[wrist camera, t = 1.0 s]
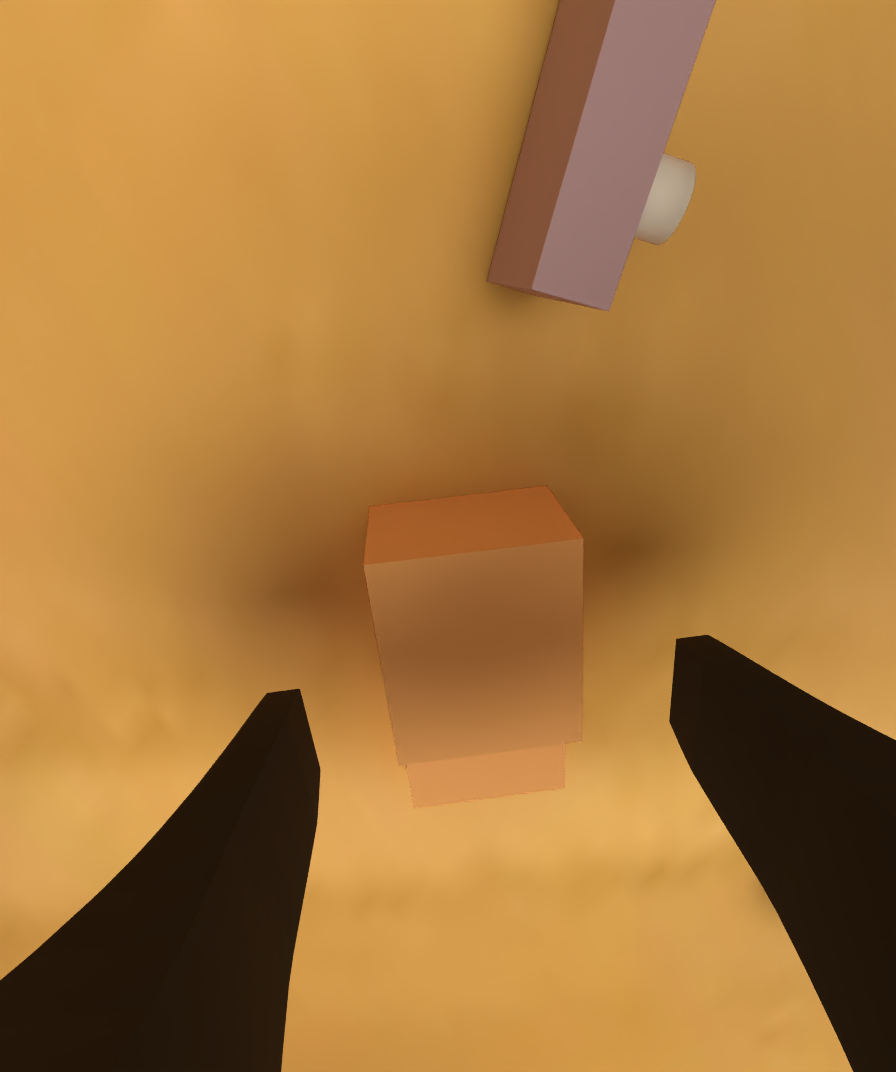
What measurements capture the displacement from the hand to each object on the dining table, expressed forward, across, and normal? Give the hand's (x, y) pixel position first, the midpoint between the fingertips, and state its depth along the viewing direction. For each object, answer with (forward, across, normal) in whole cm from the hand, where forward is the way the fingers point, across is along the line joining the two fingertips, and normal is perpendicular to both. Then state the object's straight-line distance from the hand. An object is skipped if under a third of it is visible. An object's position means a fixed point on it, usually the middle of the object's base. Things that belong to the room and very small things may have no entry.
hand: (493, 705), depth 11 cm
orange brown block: (+5, 0, +2) cm, 6 cm away
